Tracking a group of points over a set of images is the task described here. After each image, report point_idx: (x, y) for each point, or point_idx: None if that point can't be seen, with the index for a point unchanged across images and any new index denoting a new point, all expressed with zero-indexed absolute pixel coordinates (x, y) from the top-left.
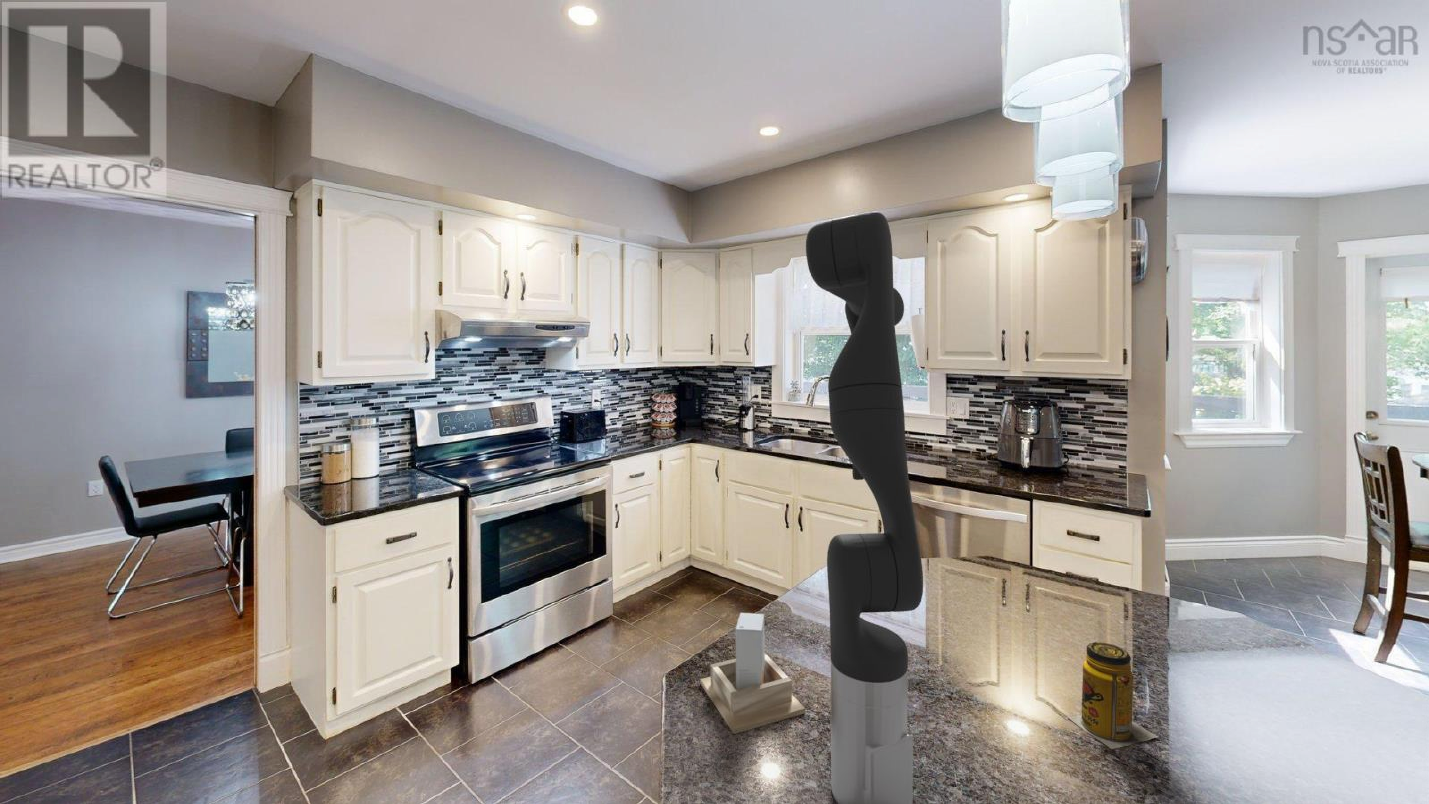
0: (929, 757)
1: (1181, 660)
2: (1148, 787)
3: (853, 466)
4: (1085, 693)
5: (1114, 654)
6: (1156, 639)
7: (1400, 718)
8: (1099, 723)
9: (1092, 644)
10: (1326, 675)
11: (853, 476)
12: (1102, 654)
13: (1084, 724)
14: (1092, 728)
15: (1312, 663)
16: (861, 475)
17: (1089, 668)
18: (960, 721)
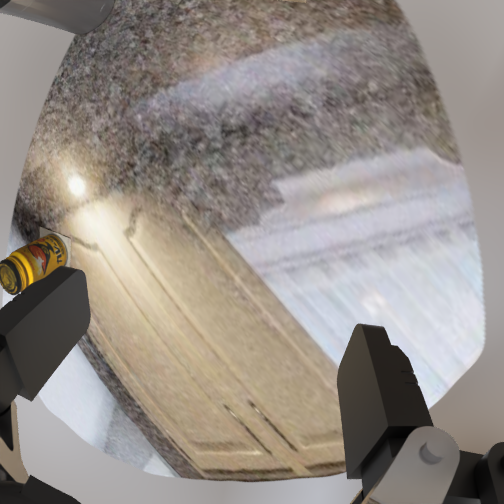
0: (86, 76)
1: (105, 395)
2: (17, 207)
3: (398, 387)
4: (38, 246)
5: (2, 275)
6: (134, 417)
7: (40, 393)
8: (42, 237)
9: (14, 279)
10: (75, 421)
11: (376, 331)
12: (2, 265)
13: (58, 239)
14: (50, 235)
15: (86, 432)
16: (345, 379)
17: (19, 256)
18: (101, 141)
